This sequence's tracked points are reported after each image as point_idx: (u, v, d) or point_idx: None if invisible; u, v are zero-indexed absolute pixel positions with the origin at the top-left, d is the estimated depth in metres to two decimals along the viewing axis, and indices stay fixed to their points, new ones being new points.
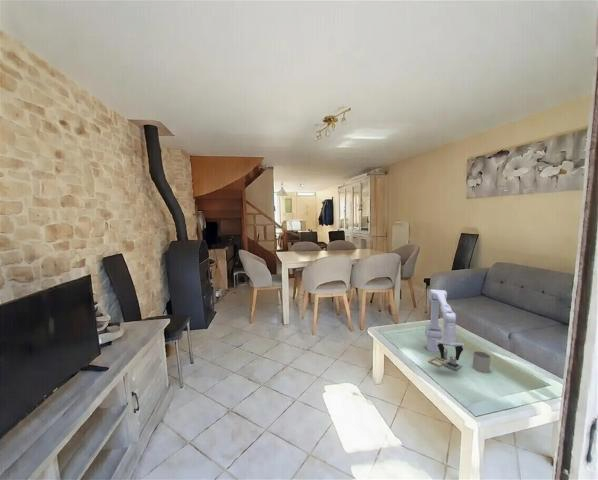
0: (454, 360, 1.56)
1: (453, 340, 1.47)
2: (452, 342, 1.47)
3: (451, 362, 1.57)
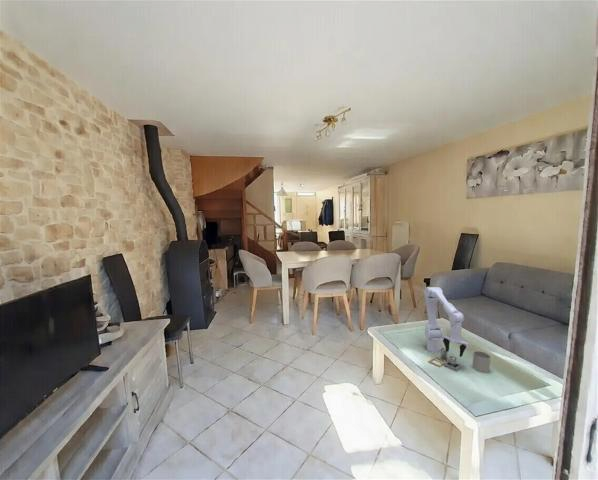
0: (454, 360, 1.56)
1: (455, 337, 1.57)
2: (454, 339, 1.57)
3: (451, 362, 1.57)
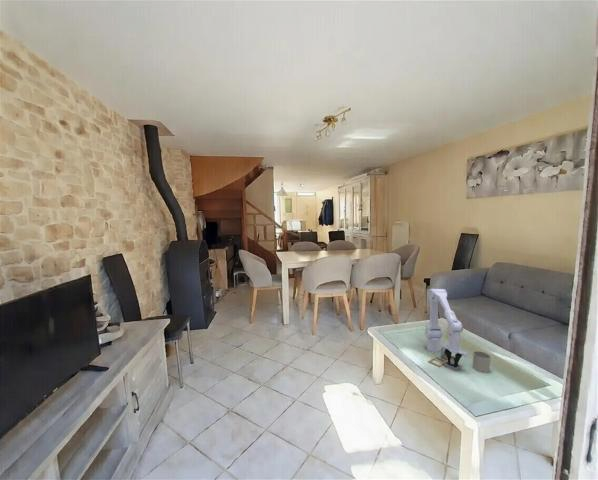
0: (454, 360, 1.56)
1: (454, 347, 1.55)
2: (452, 349, 1.55)
3: (451, 362, 1.57)
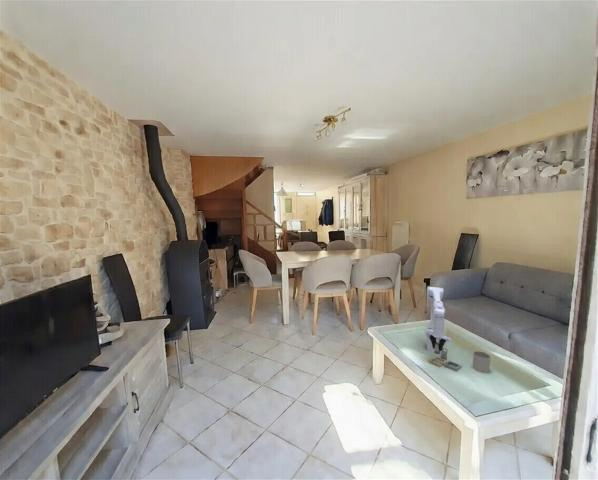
0: (438, 346, 1.60)
1: (438, 333, 1.59)
2: (436, 335, 1.59)
3: (435, 348, 1.61)
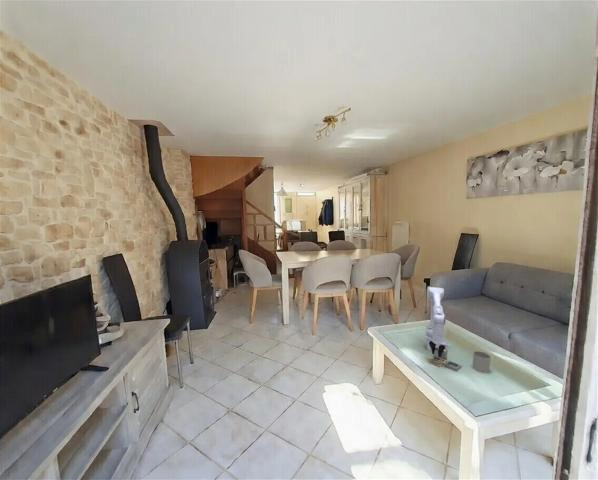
0: (438, 352, 1.60)
1: (437, 339, 1.59)
2: (436, 341, 1.59)
3: (435, 353, 1.61)
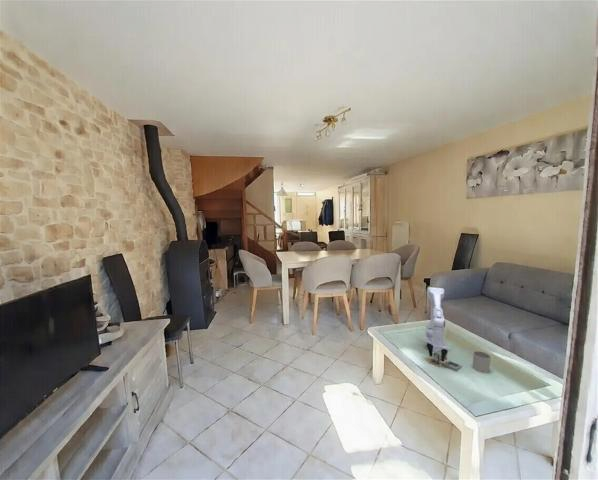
0: (437, 357, 1.60)
1: (437, 342, 1.59)
2: (436, 344, 1.59)
3: (434, 359, 1.61)
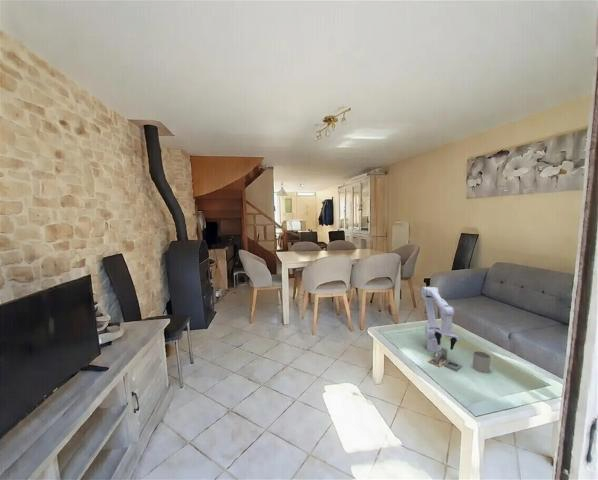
0: (437, 356, 1.61)
1: (446, 331, 1.61)
2: (445, 332, 1.61)
3: (434, 358, 1.61)
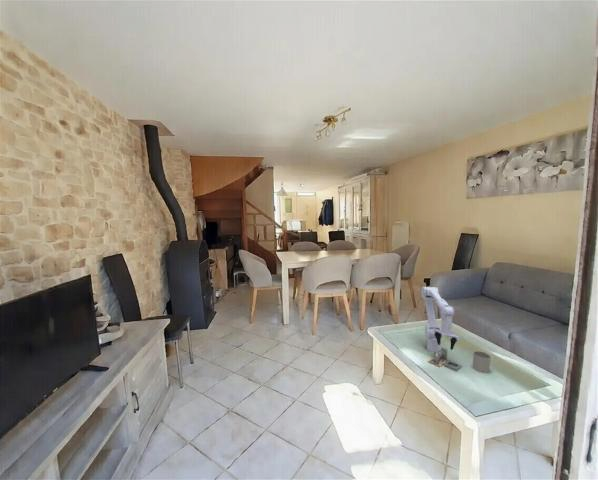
0: (437, 357, 1.60)
1: (446, 331, 1.61)
2: (445, 332, 1.61)
3: (435, 358, 1.61)
